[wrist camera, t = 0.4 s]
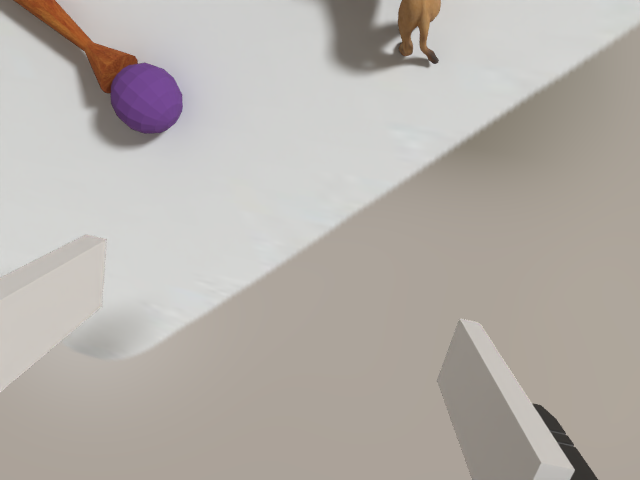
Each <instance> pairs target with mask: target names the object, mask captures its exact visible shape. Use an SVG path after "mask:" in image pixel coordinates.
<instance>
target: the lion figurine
mask: <svg viewBox="0 0 640 480" xmlns="http://www.w3.org/2000/svg"><path fill="white" fill-rule="evenodd" d="M440 5H441V0H402V2H401V4H400V8H399V12H398V26H399V31H400V35H401V38H402V43H401V44H400V46H399V51H400V53H401V54H402V55H403V56H409V55H411V54H412V53H413V44H412V41H411V33H412V31H413V30H414V29H415V28H416V27H417V26H418V27H419V30H420V49H421V51H422V52H423V53H424V54H426V55H427V57H428V60H429V61H431V62H432V63H434V64H436V63H438V61H439V60H438V58H437V57H436V55H435V53H434V52H433V51H432V50H430V49H428V48H427V46H426V41H427V36H428V30H429V24H430V22H431V21H433V20H434V18H435V17H436V16H437V15H438V13H439V11H440Z"/></svg>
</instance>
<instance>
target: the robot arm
mask: <svg viewBox="0 0 640 480" xmlns="http://www.w3.org/2000/svg"><path fill="white" fill-rule="evenodd" d="M106 243H107V239H103V238H99V237H94V236H90V235H84V236H82V237H80V238H78V239H76V240H74V241H72V242H70V243H68V244H66V245H64V246H62V247H60V248H58V249H56V250H54V251H52V252H50V253H48V254H46V255H44V256H42V257H40V258H38V259H36V260H34V261H32V262H30V263H28V264H26V265H24V266H22V267H20V268H18V269H16V270H14V271H12V272H10V273H8V274H6V275H4V276H2V277H1V278H0V392H1V391H2V390H4V389H5V388H6V387H7V386H8V385H10V384H11V383H12V382H13V381H14V380H16V379H17V378H18V377H19V376H20V375H21V374H23V373H24V372H25V371H26V370H27V369H29V368H30V367H31V366H32V365H33V364H35V363H36V362H37V361H38V360H39V359H40V358H42V357H43V356H44V355H45V354H46V353H48V352H49V351H50V350H51V349H52V348H53V347H55V346H56V345H57V344H58V343H59V342H61V341H62V340H63V339H64V338H65V337H67V336H68V335H69V334H70V333H71V332H73V331H74V330H75V329H76V328H77V327H78V326H80V325H81V324H82V323H83V322H84V321H86V320H87V319H88V318H89V317H90V316H92V315H93V314H94V313H95V312H96V311H97V310H99V309H100V308H101V307H102V299H103V285H104V271H105V257H106ZM437 382H438V385H439V387H440V390H441V393H442V396H443V399H444V402H445V405H446V407H447V410H448V413H449V416H450V419H451V421H452V424H453V427H454V430H455V433H456V435H457V438H458V441H459V444H460V447H461V450H462V452H463V455H464V458H465V461H466V464H467V467H468V469H469V472H470V475H471V478H472V480H598V479H597V477H596V476H595V475H594V473H593V472H592V470H591V469H590V467H589V466H588V465H587V463H586V462H585V460H584V459H583V457H582V456H581V454H580V453H579V451H578V450H577V449H576V448H575V447H574V444H573V443H572V441H571V440H570V439H569V437H568V436H567V435H566V433H565V431H564V430H563V429H562V427H561V426H560V424H559V423H558V421H557V420H556V419H555V418H554V417H553V416H552V415H551V414H550V413H549V412H548V411H547V410H546V409H544V408H543V407H542V406H541V405H537V404H532V403H531V401H530V400H529V398H528V397H527V395H526V394H525V392H524V390H523V389H522V387H521V386H520V384H519V383H518V381H517V380H516V378H515V377H514V375H513V374H512V372H511V370H510V369H509V367H508V366H507V364H506V363H505V361H504V360H503V358H502V357H501V355H500V353H499V352H498V350H497V349H496V347H495V346H494V344H493V343H492V341H491V339H490V338H489V336H488V335H487V333H486V332H485V330H484V329H483V327H482V326H481V324H480V323H479V322H474V321H469V320H465V319H461V318H460V319H459V321H458V324H457V326H456V329H455V332H454V335H453V338H452V340H451V343H450V346H449V349H448V352H447V354H446V357H445V360H444V362H443V365H442V368H441V371H440V373H439V376H438V379H437Z"/></svg>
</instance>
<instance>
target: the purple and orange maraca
mask: <svg viewBox="0 0 640 480" xmlns="http://www.w3.org/2000/svg"><path fill="white" fill-rule="evenodd" d="M14 1H15V2H17V3H18V4H19V5H21V6H22V7H24V8H25V9H26V10H28V11H29V12H31V13H32V14H33V15H35V16H36V17H38V18H39V19H40V20H42V21H43V22H45V23H46V24H47V25H49V26H50V27H51V28H53V29H54V30H56V31H57V32H58V33H60V34H61V35H63V36H64V37H65V38H67V39H68V40H70V41H71V42H72V43H74V44H75V45H76V46H78V47H79V48H81V49H82V50H83V51H85V53H86V55H87V58H88V60H89V62H90V64H91V67H92V69H93V71H94V74H95V76H96V78H97V80H98V83H99V85H100V87H101V89H102V90H103V91H104V92H105V93H111V104H112V106H113V108H114V110H115V112H116V115H117V116H118V117H119V118H120V119H121V120H122V121H123V122H124V123H125V124H127V125H128V126H129V127H130V128H131V129H133V130H136V131H139V132H142V133H161V132H163V131H166V130H167V129H168V128H170V127H171V126H172V125H174V124H175V123H176V121H177V120H178V118H179V116H180V114H181V112H182V107H183V106H182V94H181V92H180V90H179V88H178V86H177V84H176V82H175V80H174V78H173V77H172V76H171V75H170V74H169V73H167V72H166V71H165V70H164V69H162V68H159V67H156V66H153V65H150V64H147V63H140V64H138V60H137V59H136V57H135V56H133V55H130V54H127V53H124V52H121V51H118V50H115V49H111V48H108V47H105V46H102V45H99V44H96V43H93V42H92V41H91V40H90V38H89V37H88V36H87V35H86V34H85V33H84V32H83V31H82V30H81V28H80V27H79V26H78V25H77V24H76V23H75V22H74V21H73V20H72V19H71V17H70V16H69V15H68V14H67V13H66V12H65V11H64V10H63V9H62V8H61V6H60V5H59V4H58V3H57V2H56V1H55V0H14Z"/></svg>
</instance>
